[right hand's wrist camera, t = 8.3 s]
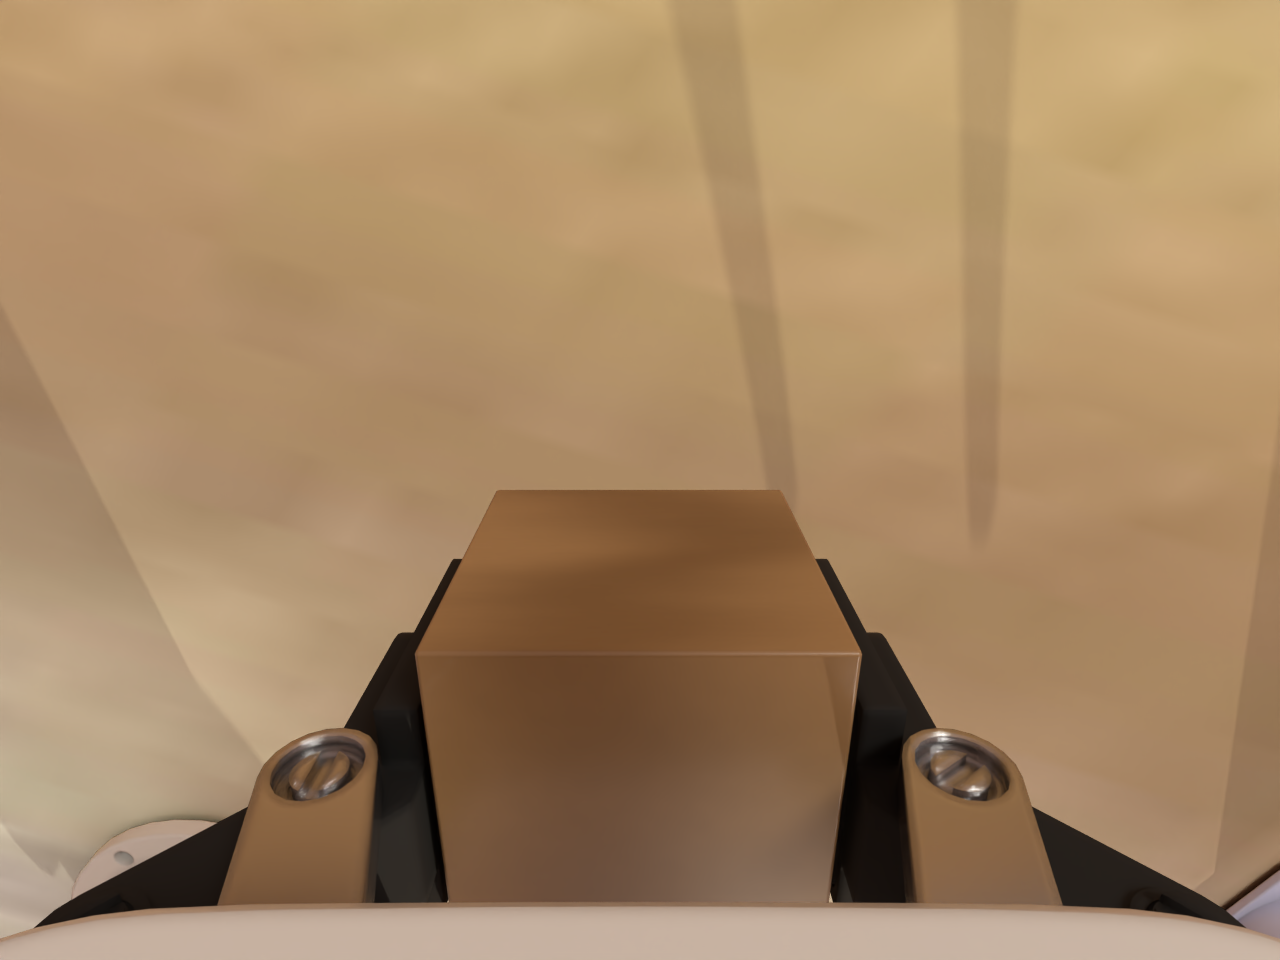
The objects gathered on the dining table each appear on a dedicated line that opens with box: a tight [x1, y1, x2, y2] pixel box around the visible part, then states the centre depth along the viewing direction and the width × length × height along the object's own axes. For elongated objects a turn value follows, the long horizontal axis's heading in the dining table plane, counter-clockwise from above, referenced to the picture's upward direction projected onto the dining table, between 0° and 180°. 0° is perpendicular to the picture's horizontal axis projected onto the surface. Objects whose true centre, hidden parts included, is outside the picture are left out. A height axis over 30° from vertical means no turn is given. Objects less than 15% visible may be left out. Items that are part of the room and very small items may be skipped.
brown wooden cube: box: [415, 490, 862, 903], centre depth 10 cm, size 5×5×5 cm
